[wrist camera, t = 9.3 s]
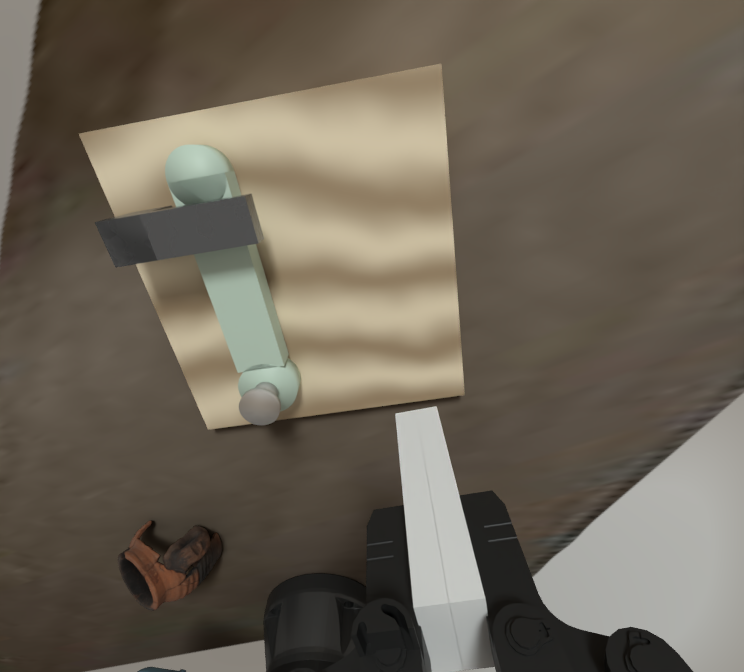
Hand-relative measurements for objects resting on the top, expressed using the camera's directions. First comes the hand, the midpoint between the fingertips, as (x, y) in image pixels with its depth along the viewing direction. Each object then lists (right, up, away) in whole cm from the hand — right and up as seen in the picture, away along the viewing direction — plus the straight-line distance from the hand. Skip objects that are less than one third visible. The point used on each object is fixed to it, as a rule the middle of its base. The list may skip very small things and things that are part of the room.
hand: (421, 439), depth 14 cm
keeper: (-14, +12, +15) cm, 24 cm away
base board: (-8, +9, +18) cm, 22 cm away
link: (-12, +7, +17) cm, 22 cm away
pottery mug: (-24, -20, +33) cm, 45 cm away
